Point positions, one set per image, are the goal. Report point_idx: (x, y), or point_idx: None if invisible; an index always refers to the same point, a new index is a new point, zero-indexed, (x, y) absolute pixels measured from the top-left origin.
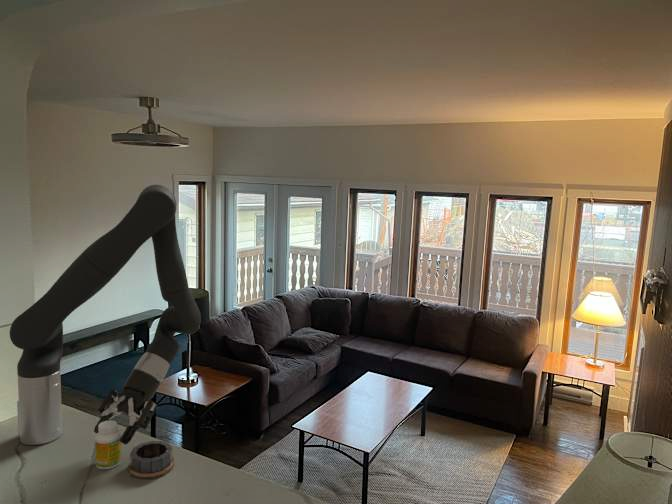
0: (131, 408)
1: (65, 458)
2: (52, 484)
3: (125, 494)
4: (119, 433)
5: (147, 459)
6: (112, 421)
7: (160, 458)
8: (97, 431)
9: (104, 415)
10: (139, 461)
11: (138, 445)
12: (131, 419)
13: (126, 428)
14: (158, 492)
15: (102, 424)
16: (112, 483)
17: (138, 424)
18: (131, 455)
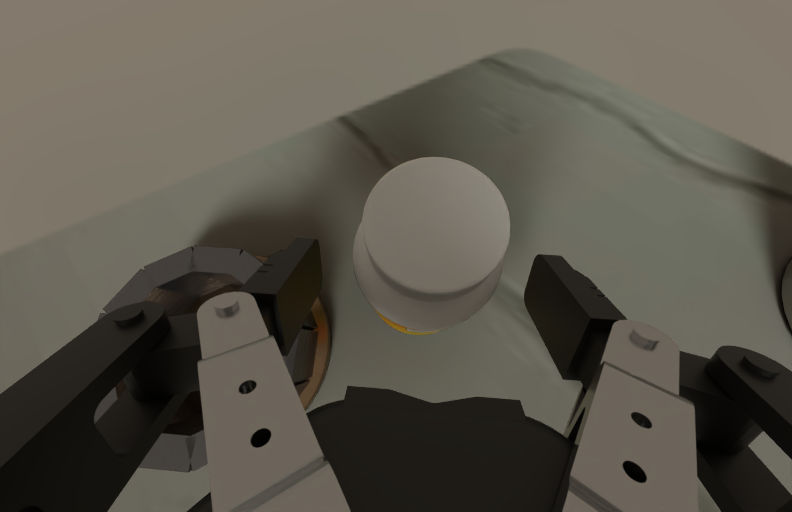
0: (248, 421)
1: (593, 241)
2: (475, 124)
3: (228, 180)
4: (367, 289)
5: (165, 270)
6: (441, 273)
7: (108, 307)
8: (536, 265)
9: (612, 329)
10: (198, 247)
11: (292, 359)
12: (243, 331)
13: (284, 279)
14: (129, 231)
15: (470, 197)
16: (308, 203)
17: (141, 304)
18: (261, 265)
